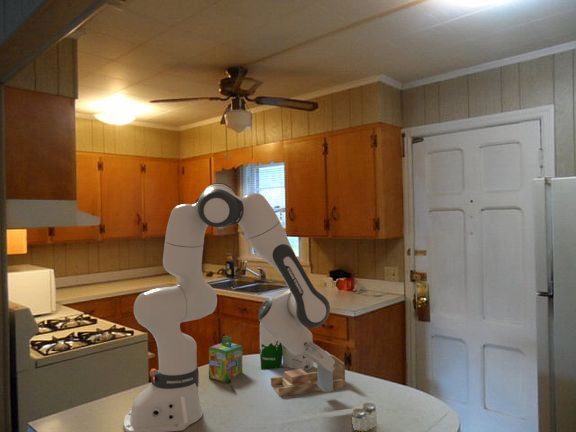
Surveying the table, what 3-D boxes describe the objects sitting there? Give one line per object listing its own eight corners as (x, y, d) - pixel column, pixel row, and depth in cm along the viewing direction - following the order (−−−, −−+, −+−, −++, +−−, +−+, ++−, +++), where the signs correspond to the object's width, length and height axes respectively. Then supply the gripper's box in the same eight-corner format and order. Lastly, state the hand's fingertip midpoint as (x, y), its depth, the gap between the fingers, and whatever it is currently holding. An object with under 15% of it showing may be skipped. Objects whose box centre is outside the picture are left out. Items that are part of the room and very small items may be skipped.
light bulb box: (314, 369, 168) (313, 341, 168) (303, 374, 163) (303, 346, 163) (293, 363, 175) (292, 337, 175) (281, 368, 170) (281, 340, 170)
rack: (279, 400, 141) (279, 371, 141) (270, 388, 150) (270, 361, 150) (345, 390, 148) (344, 363, 148) (333, 379, 158) (332, 354, 158)
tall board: (324, 392, 136) (323, 356, 136) (317, 385, 141) (317, 351, 141) (333, 390, 136) (332, 355, 137) (326, 384, 142) (325, 350, 142)
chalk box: (208, 378, 160) (207, 338, 160) (225, 371, 168) (224, 332, 168) (226, 383, 155) (226, 342, 155) (243, 375, 163) (243, 336, 163)
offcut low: (288, 393, 143) (288, 385, 143) (282, 385, 150) (282, 378, 150) (311, 389, 146) (311, 382, 146) (304, 382, 152) (304, 375, 152)
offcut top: (291, 384, 144) (291, 377, 144) (284, 378, 150) (283, 371, 150) (308, 381, 147) (308, 374, 147) (300, 375, 152) (300, 368, 152)
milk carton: (284, 363, 176) (283, 313, 176) (280, 371, 167) (279, 319, 167) (263, 362, 177) (262, 313, 177) (258, 370, 168) (257, 318, 168)
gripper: (320, 339, 126) (350, 368, 130) (290, 325, 145) (317, 350, 149) (307, 357, 125) (337, 385, 129) (278, 340, 143) (305, 365, 147)
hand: (326, 366), depth 139 cm, fingers closed on tall board, 6 cm apart
